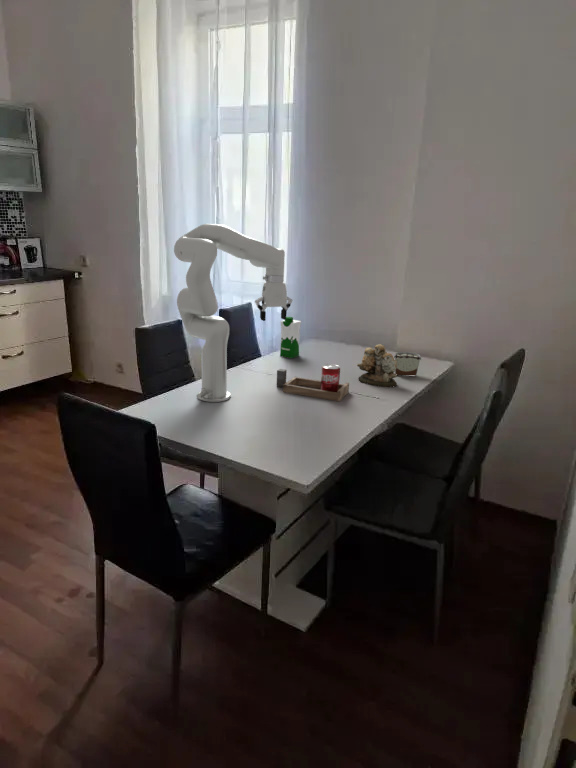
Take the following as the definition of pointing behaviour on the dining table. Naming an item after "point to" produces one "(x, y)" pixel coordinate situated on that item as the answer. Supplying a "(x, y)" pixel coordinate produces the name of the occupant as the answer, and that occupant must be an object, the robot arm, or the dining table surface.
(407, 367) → the food container
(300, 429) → the dining table surface
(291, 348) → the milk carton
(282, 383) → the wooden tray frame
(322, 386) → the soda can
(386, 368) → the owl figurine
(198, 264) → the robot arm
